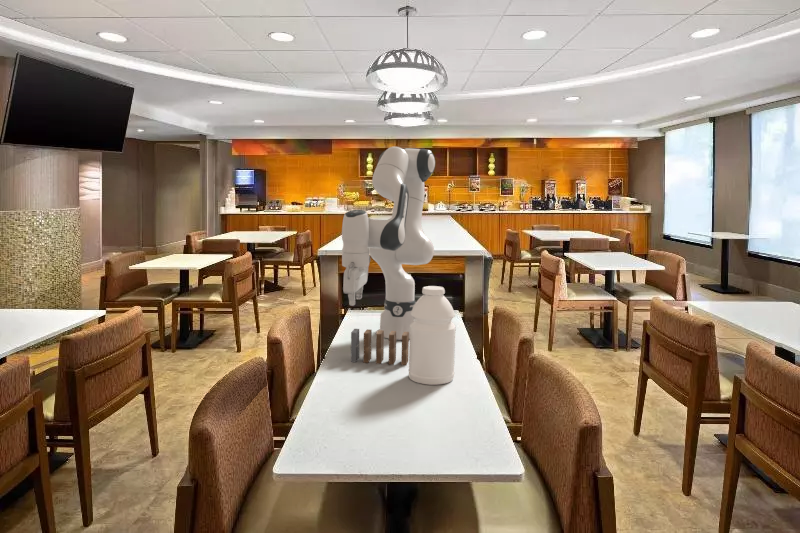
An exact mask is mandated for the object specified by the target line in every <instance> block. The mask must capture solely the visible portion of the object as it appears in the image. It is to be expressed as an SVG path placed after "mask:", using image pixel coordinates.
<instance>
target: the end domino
mask: <svg viewBox="0 0 800 533" xmlns="http://www.w3.org/2000/svg"><path fill="white" fill-rule="evenodd" d="M359 358H360V328H353V330H352V331H351V333H350V362H351V363H357V361H358V360H359Z"/></svg>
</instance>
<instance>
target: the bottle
mask: <svg viewBox="0 0 800 533" xmlns="http://www.w3.org/2000/svg"><path fill="white" fill-rule="evenodd" d="M421 289H422V290H421V293H422V295H421V296H420V297H419V298H418V299H417V300H416V301H415V302H416V303H415V305H414V306H413V309H412V311H411V316H412V317H413V318H414V321H413V322H412V323H411V324H410V339H409V351H408V365H409V366H408V377H409V379H410V380H411V381H412V382H415V383H417V384H421V385H422V384H423V385H428V386H429V385H430V386H432V385H433V386H434V385H435V386H436V385H437V386H439V385H444V384H448V383H451V382H452V381H453V380H454V378H455V358H456V357H455V356H456V354H455V353H456V352H455V351H456V349H455V348H456V347H455V346H456V330H457V328H456V325H455V324H454V323H453V322H452V320H453V319H454V318H455V317H456V313H455V311H454V308H453V306H452V304H451V303H450V301H449V300H448V299H447V297H446V296H445V295H444V294H445V293H446V290H445V288H444V287H443V286H440V285H439V286H437V285H428V286H423V287H422V288H421Z"/></svg>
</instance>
